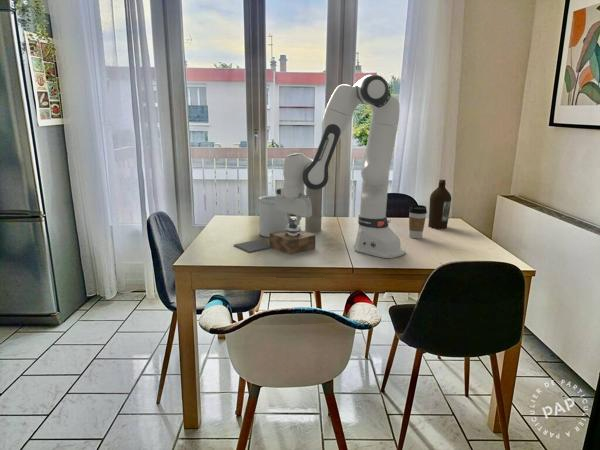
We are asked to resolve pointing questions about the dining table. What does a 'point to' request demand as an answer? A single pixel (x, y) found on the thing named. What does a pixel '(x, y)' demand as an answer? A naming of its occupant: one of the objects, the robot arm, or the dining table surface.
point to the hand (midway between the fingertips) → (293, 223)
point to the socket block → (292, 241)
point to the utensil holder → (270, 216)
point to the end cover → (292, 228)
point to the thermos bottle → (314, 210)
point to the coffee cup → (417, 220)
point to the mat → (253, 246)
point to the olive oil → (439, 207)
